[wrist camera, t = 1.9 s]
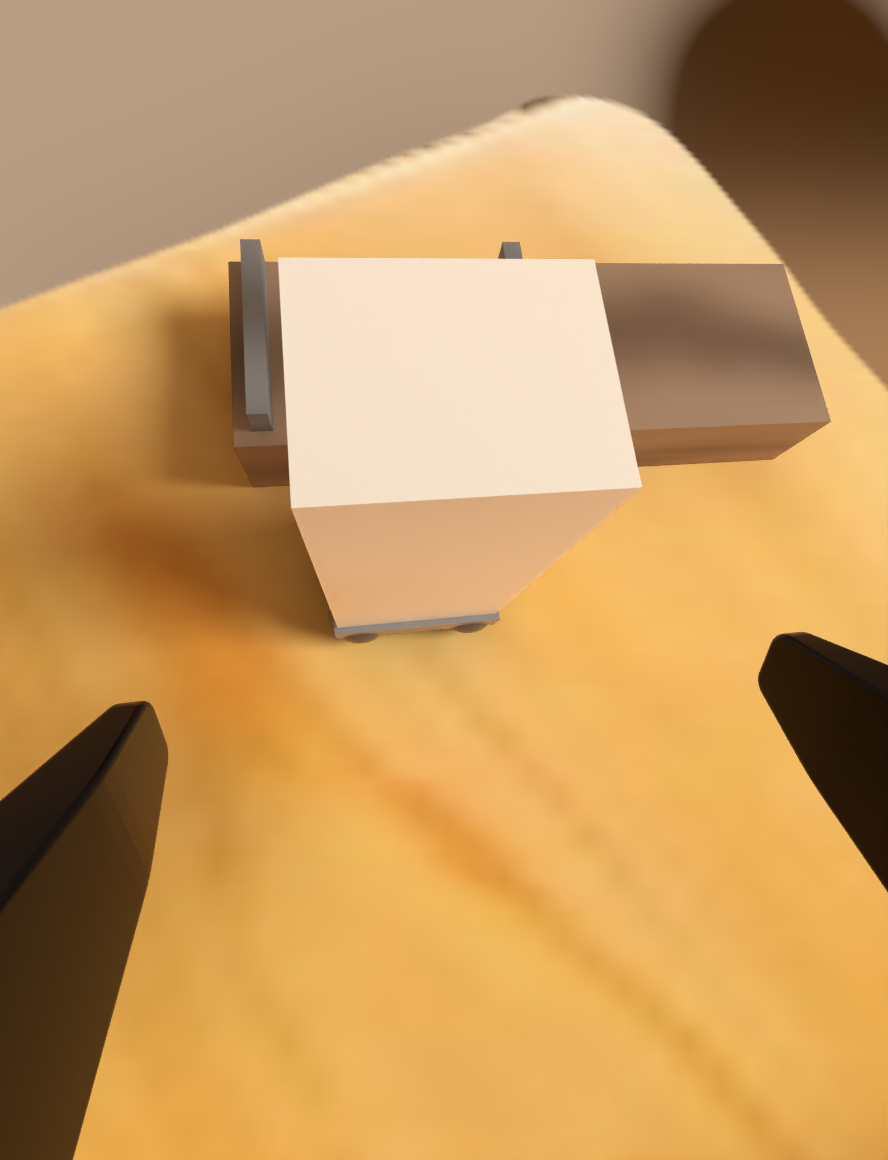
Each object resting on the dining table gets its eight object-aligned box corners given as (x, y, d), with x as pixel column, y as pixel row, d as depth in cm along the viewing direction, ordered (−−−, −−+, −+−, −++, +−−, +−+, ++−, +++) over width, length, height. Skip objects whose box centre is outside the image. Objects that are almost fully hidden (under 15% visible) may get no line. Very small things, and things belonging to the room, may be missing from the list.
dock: (773, 459, 23) (854, 406, 19) (253, 486, 20) (225, 430, 16) (734, 317, 24) (802, 242, 21) (248, 323, 21) (220, 236, 18)
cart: (493, 634, 20) (666, 511, 8) (333, 649, 19) (268, 538, 7) (476, 507, 21) (607, 239, 9) (324, 516, 20) (256, 234, 8)
